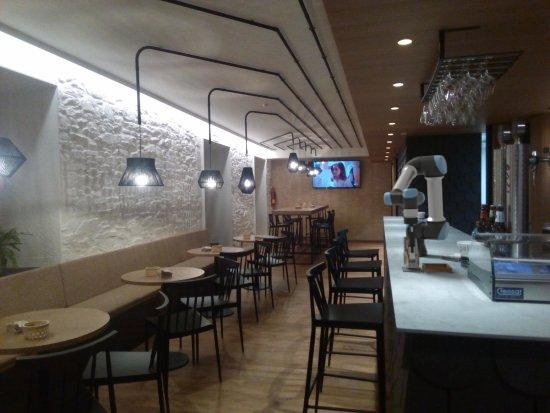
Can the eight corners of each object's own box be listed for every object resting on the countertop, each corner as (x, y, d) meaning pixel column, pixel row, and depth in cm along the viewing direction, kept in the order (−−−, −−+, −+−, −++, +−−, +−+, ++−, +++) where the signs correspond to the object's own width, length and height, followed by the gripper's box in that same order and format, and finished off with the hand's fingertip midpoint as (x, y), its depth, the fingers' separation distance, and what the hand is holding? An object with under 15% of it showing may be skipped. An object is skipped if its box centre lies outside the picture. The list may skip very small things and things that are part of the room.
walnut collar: (421, 267, 242) (421, 263, 242) (448, 267, 239) (448, 263, 239) (424, 272, 229) (424, 267, 229) (452, 273, 225) (452, 268, 225)
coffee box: (420, 267, 232) (419, 238, 231) (408, 268, 232) (407, 238, 232) (414, 264, 241) (414, 236, 240) (403, 264, 241) (402, 236, 241)
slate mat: (401, 267, 244) (401, 266, 244) (420, 267, 242) (420, 266, 241) (402, 271, 232) (402, 270, 232) (422, 272, 230) (422, 271, 230)
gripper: (402, 215, 247) (403, 253, 248) (404, 218, 225) (405, 260, 227) (416, 215, 245) (416, 253, 247) (419, 218, 224) (420, 260, 225)
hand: (411, 256), depth 237 cm, fingers closed on coffee box, 10 cm apart
